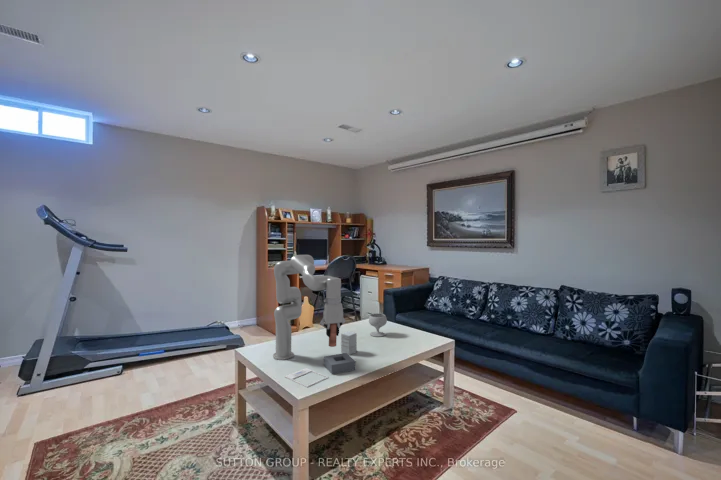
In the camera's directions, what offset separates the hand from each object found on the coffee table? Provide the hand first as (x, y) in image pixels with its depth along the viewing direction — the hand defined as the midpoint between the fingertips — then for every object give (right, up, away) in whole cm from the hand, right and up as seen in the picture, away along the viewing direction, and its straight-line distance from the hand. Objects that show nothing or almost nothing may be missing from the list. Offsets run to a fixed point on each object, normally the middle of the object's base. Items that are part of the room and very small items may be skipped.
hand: (332, 335), depth 166 cm
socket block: (+3, -23, +14) cm, 27 cm away
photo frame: (-14, -23, +1) cm, 27 cm away
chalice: (+28, -23, +77) cm, 85 cm away
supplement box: (+7, -23, +38) cm, 45 cm away
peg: (0, -5, 0) cm, 5 cm away
